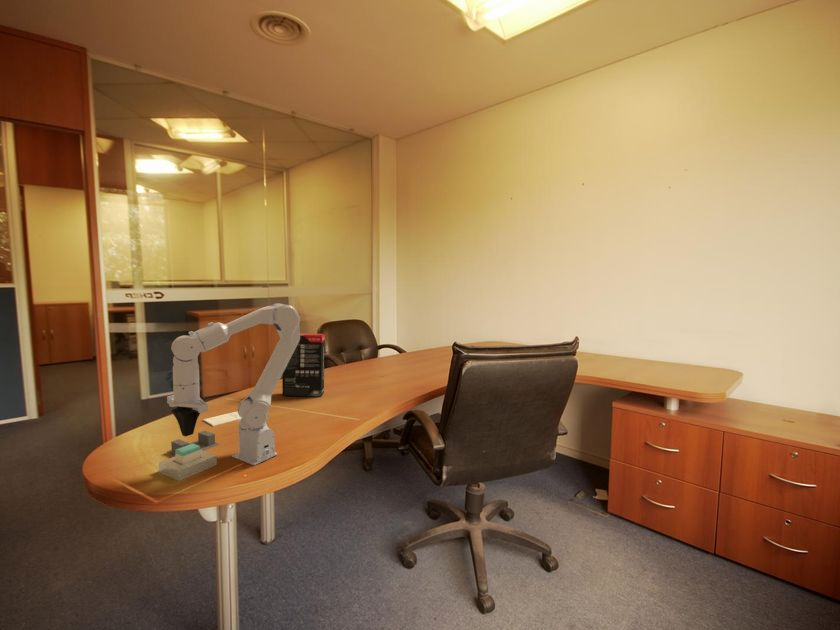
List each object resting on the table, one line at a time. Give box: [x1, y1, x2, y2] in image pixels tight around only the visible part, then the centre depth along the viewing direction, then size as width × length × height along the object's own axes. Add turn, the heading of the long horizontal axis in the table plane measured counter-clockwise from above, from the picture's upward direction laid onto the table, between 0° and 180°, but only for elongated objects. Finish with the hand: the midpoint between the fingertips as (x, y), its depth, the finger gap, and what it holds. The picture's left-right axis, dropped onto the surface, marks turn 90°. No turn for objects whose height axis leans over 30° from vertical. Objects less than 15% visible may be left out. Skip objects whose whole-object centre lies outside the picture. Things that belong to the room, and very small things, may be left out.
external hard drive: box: [202, 410, 242, 427], centre depth 137 cm, size 2×8×12 cm
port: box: [158, 449, 218, 482], centre depth 100 cm, size 9×10×3 cm
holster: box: [166, 430, 220, 456], centre depth 112 cm, size 8×11×4 cm
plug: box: [174, 444, 200, 465], centre depth 100 cm, size 3×4×6 cm
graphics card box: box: [281, 332, 326, 398], centre depth 168 cm, size 17×7×27 cm, turn 94°
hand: (187, 434), depth 100 cm, fingers closed
